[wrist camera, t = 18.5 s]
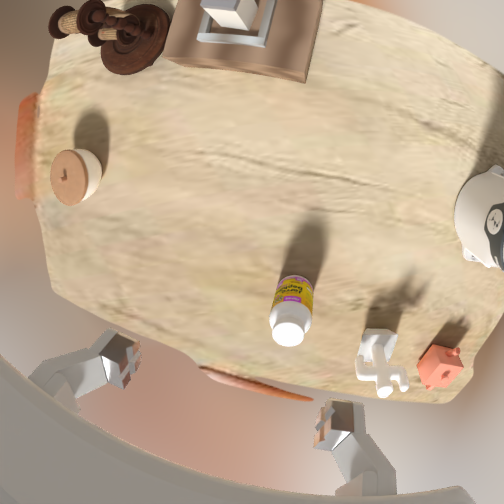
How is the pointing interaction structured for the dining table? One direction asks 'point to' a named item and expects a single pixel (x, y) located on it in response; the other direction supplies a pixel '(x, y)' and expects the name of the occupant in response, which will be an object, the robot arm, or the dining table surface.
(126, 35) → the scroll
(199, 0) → the block
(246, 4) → the grey white rectangular block
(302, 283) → the supplement bottle
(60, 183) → the lidded jar
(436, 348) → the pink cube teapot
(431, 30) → the dining table surface
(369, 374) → the figurine
